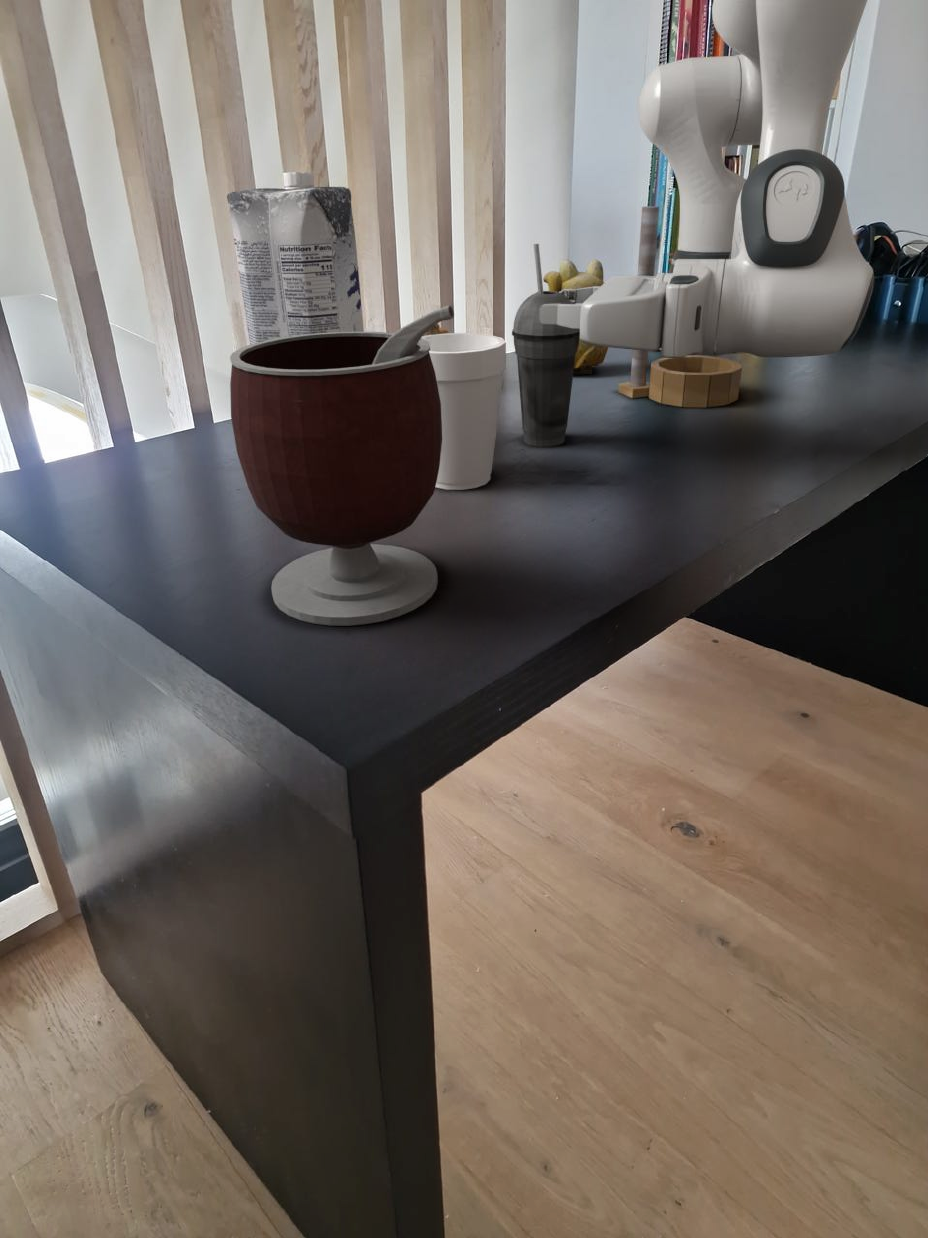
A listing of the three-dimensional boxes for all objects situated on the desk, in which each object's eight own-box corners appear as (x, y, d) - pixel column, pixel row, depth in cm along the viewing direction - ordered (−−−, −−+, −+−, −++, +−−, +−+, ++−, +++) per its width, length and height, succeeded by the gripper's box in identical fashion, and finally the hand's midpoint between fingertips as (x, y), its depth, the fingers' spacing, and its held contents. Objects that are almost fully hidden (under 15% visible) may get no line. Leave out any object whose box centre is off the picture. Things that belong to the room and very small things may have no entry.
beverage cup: (574, 451, 88) (582, 246, 78) (506, 449, 89) (506, 247, 80) (579, 431, 94) (587, 239, 85) (516, 429, 96) (516, 240, 86)
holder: (618, 392, 109) (629, 206, 99) (702, 381, 113) (721, 201, 102) (665, 413, 100) (683, 210, 89) (755, 401, 104) (782, 204, 93)
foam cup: (460, 457, 88) (456, 329, 81) (525, 476, 82) (526, 340, 75) (391, 480, 82) (381, 344, 75) (456, 503, 76) (451, 357, 70)
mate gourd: (222, 614, 58) (164, 316, 49) (320, 538, 70) (289, 285, 60) (424, 649, 53) (404, 325, 44) (494, 562, 65) (490, 289, 55)
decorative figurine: (594, 363, 125) (599, 255, 118) (619, 374, 118) (627, 260, 111) (535, 369, 122) (536, 259, 115) (557, 381, 116) (560, 265, 108)
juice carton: (344, 470, 85) (313, 172, 72) (257, 461, 88) (211, 175, 75) (381, 444, 92) (359, 169, 79) (299, 437, 96) (264, 172, 82)
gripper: (697, 260, 89) (569, 260, 92) (685, 287, 72) (529, 286, 75) (691, 322, 92) (568, 320, 95) (678, 362, 75) (528, 357, 78)
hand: (550, 305), depth 85 cm, fingers open, 8 cm apart
